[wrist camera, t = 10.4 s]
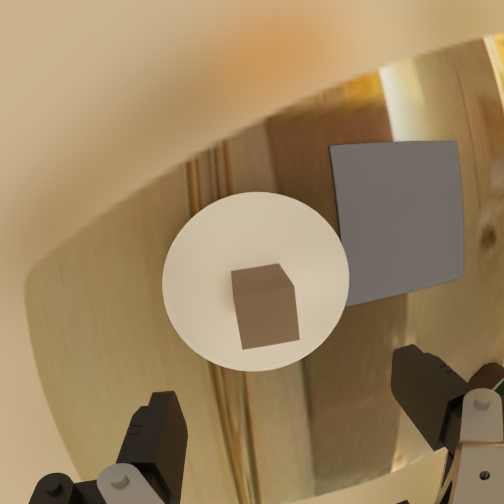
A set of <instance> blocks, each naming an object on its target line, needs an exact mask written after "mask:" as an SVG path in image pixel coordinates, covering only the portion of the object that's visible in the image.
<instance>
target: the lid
mask: <svg viewBox="0 0 504 504" xmlns="http://www.w3.org/2000/svg"><path fill="white" fill-rule="evenodd" d="M348 289H349V269H348V262H347V258H346V254H345V251H344V249H343V246H342V244H341V241H340V240H339V238H338V236H337V235H336V233H335V231H334V230H333V228H332V227H331V226H330V225H329V224H328V222H327V221H326V220H325V219H324V218H323V217H322V216H321V215H320V214H318V213H317V212H316V211H315V210H313V209H312V208H310V207H309V206H307V205H306V204H304V203H302V202H300V201H298V200H296V199H293V198H290V197H287V196H284V195H279V194H274V193H269V192H247V193H240V194H235V195H231V196H228V197H225V198H223V199H220V200H218V201H216V202H214V203H212V204H210V205H208V206H207V207H205V208H204V209H202V210H201V211H200V212H198V213H197V214H196V215H195V216H194V217H193V218H192V219H190V220H189V221H188V222H187V223H186V225H185V226H184V227H183V228H182V230H181V231H180V232H179V233H178V235H177V236H176V238H175V240H174V242H173V243H172V245H171V247H170V250H169V252H168V255H167V257H166V261H165V265H164V269H163V278H162V292H163V298H164V304H165V307H166V311H167V314H168V316H169V319H170V321H171V323H172V325H173V327H174V328H175V330H176V331H177V333H178V334H179V336H180V337H181V338H182V339H183V340H184V342H185V343H186V344H187V345H188V346H189V347H190V348H192V349H193V350H194V351H195V352H196V353H198V354H199V355H201V356H202V357H203V358H205V359H207V360H209V361H211V362H213V363H215V364H218V365H220V366H223V367H226V368H230V369H234V370H241V371H266V370H272V369H276V368H281V367H283V366H286V365H289V364H292V363H294V362H296V361H298V360H300V359H302V358H303V357H305V356H306V355H308V354H310V353H311V352H312V351H314V350H315V349H316V348H317V347H318V346H320V345H321V344H322V342H323V341H324V340H325V339H326V338H327V337H328V336H329V335H330V333H331V332H332V331H333V329H334V328H335V326H336V324H337V323H338V321H339V319H340V317H341V315H342V312H343V310H344V308H345V304H346V300H347V297H348Z"/></svg>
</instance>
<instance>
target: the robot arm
mask: <svg viewBox="0 0 504 504" xmlns="http://www.w3.org/2000/svg"><path fill="white" fill-rule="evenodd" d="M391 389H392V393H393V396H394V397H395V399H396V400H397V402H398V403H399V404H400V406H401V407H402V408H403V410H404V411H405V412H406V414H407V415H408V416H409V418H410V419H411V420H412V422H413V423H414V424H415V426H416V427H417V429H418V430H419V431H420V433H421V434H422V435H423V437H424V438H425V439H426V441H427V442H428V444H429V445H430V446H431V448H432V449H433V450H434V451H436V450H438V449H441V448H443V447H446V448H447V449H448V451H447V454H446V459H445V464H444V469H443V473H442V478H441V483H440V487H439V491H438V495H437V498H436V501H435V503H434V504H504V395H502V396H499V395H498V394H497V393H496V392H495V391H493V390H490V389H486V388H478V389H473V388H472V387H471V386H470V385H469V384H468V383H467V382H466V381H465V380H464V379H462V378H461V377H460V376H459V375H458V374H457V373H456V372H455V371H453V370H452V369H451V368H450V367H449V366H447V365H446V363H445V362H443V361H442V360H441V359H440V358H439V357H437V356H434V355H432V354H430V353H423V352H422V351H421V350H420V349H419V348H418V347H416V346H415V345H414V344H411V345H408V346H405V347H402V348H398V349H395V350H394V352H393V360H392V374H391ZM126 434H127V435H125V438H124V441H123V444H122V447H121V450H120V453H119V456H118V458H117V461H116V464H113V465H111V466H108V467H107V468H105V469H104V470H103V471H102V472H101V473H100V474H99V476H98V478H97V480H93V481H86V482H79V483H73V481H72V480H71V479H70V477H69V476H67V475H65V474H63V473H52V474H48V475H46V476H44V477H43V478H42V479H41V480H40V481H39V482H38V484H37V486H36V487H35V490H34V492H33V494H32V497H31V499H30V502H29V504H180V498H181V489H182V480H183V472H184V463H185V455H186V447H187V439H188V432H187V425H186V422H185V419H184V416H183V413H182V411H181V408H180V405H179V402H178V399H177V396H176V394H175V392H174V391H165V392H153V393H152V396H151V399H150V402H149V405H148V406H141V407H140V408H139V409H138V410H137V411H136V412H135V413H134V415H133V416H132V419H131V422H130V424H129V427H128V430H127V433H126ZM397 504H409V503H408V501H407V500H405V501H402V502H400V503H397Z"/></svg>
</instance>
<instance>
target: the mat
mask: <svg viewBox="0 0 504 504" xmlns="http://www.w3.org/2000/svg"><path fill="white" fill-rule="evenodd" d="M329 153H330V160H331V167H332V174H333V182H334V190H335V198H336V207H337V216H338V225H339V235H340V241H341V244H342V246H343V249H344V251H345V254H346V258H347V262H348V269H349V289H348V297H347V300H346V304H345V306H346V307H347V306H352V305H356V304H361V303H365V302H369V301H374V300H378V299H382V298H386V297H390V296H395V295H399V294H403V293H407V292H411V291H414V290H418V289H422V288H426V287H430V286H433V285H437V284H441V283H444V282H448V281H451V280H455V279H458V278H462V277H463V267H464V218H463V198H462V184H461V173H460V163H459V155H458V147H457V141H411V142H381V143H362V144H347V145H333V146H329Z"/></svg>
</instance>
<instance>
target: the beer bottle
mask: <svg viewBox="0 0 504 504" xmlns="http://www.w3.org/2000/svg"><path fill="white" fill-rule="evenodd" d="M469 385H470V386H471V387H472V388H473V389H478V388H486V389H490V390H493V391H495V392H496V393H497V394H498V395H499V396H502V395H504V367H502V366H500V365H499V364H497V363H494V364H489V365H484V366H483V367H482V368H481V369H480V370H479V371H478V372H477V373H476V374H475V375H474V376H473V377H472V378H471V380H470V382H469Z"/></svg>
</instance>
